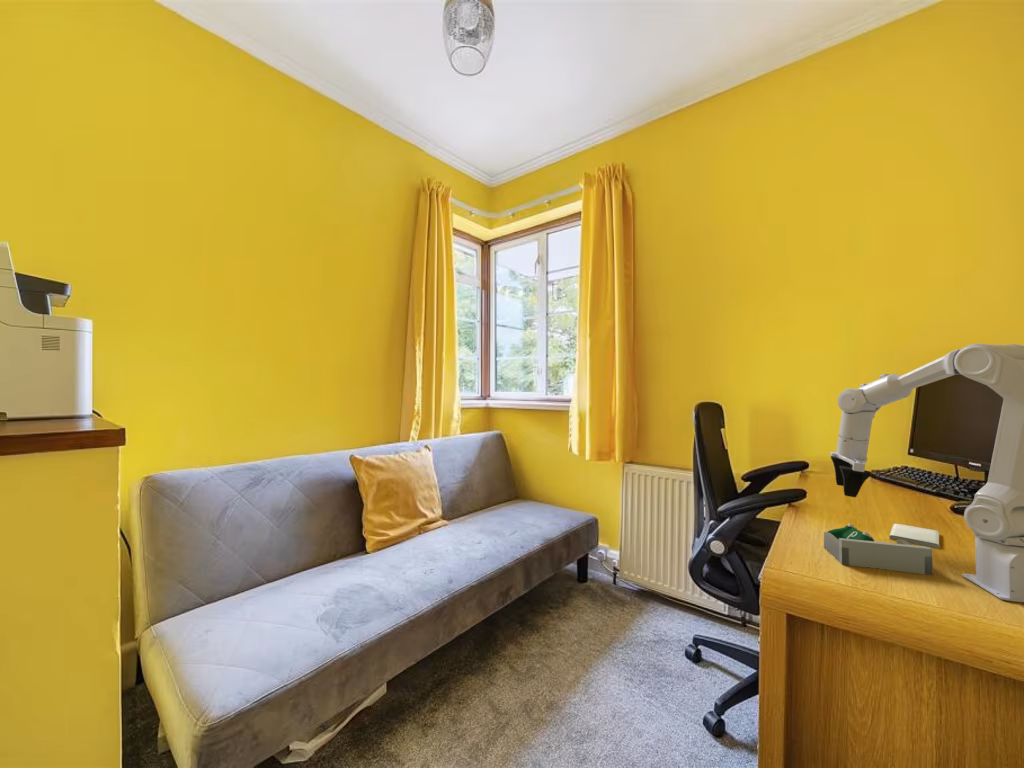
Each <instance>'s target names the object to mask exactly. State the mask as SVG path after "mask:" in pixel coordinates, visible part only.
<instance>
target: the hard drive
mask: <svg viewBox="0 0 1024 768" xmlns="http://www.w3.org/2000/svg"><path fill="white" fill-rule="evenodd" d="M888 537H889V538H888V539H889V540H891V539H892V541H897V539H900V540H905V541H907V542H909V543H910V544H912V545H916V546H925V547H929V548H932V547H933V548H932V549H937V548H938V550H939V549H940V531H938V530H936V529H930V528H924V527H918V526H912V525H907V524H900V523H893V524H892V527H891V529H890V532H889V536H888Z"/></svg>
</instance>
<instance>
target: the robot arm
mask: <svg viewBox="0 0 1024 768" xmlns="http://www.w3.org/2000/svg"><path fill="white" fill-rule="evenodd" d="M956 375H957V376H958V375H960V376H963V377H965V378H968V379H970V380H973V381H975V382H976V383H980V384H982V385H985V386H987V387H988V388H990V389H991V390H993V391H994V392H995V393H996V394H998V395H999V396H1000V397H1001V398H1002V400H1003V401H1002V406H1001V411H1000V415H999V416H1000V417H999V422H998V425H997V429H996V436H995V440H994V448H993V452H992V456H991V463H990V465H989V466H990V467H989V470H988V471H989V472H988V477H987V482H986V484H984V485H983V486H982V487H981V488H980V489H978V490H977V492H975V494H974V498H973V500H972V502H971V503H970V504H969V505H968V506H966V508H965V509H964V513H963V519H964V521H965V524H966V525H967V527H968V528H969V529H970V531H972V532H973V536H974V540H975V541H974V545H975V547H974V548H975V550H974V551H975V553H974V554H975V555H974V556H975V574H971V573H962V577H963V578H965V579H967V580H969V581H970V582H972V583H974V585H977V586H978V587H980V588H982V589H983V590H985V591H987V592H988V593H990V594H992V595H993V596H995V597H996V598H998V599H1000V600H1002V601H1008V602H1017V603H1024V345H1021V344H1012V343H1011V344H985V343H972V344H968V345H966V346H964V347H962V348H960V349H959V348H958V349H955V350H951V351H949V352H948V353H947V354H945V355H942V356H941V357H938V358H937V359H934V360H933V361H930V362H928V363H925V364H923V365H921V366H919V367H918V368H916V369H915V368H914V369H913V370H911V371H909V372H907V373H905V374H902V375H900V374H897V373H891V374H890V373H883V374H881V375H879V376H878V377H879V378H878V379H876V380H874V381H871V382H868V383H862V384H860V385H859V387H858V388H857V389H855V388H845V389H844V390H842V391H841V392H840V393H839V394H838V396H837V406H838V407H839V409H840V410H841V418H840V423H839V424H840V425H839V430H838V431H839V432H838V438H837V439H838V440H837V444H836V451H830V453H829V455H830V460H831V461H832V463H833V464H832V465H833V467H834V473H835V474H834V475H835V482H836V485H837V486H841V487H843V494H844V496H845V497H849V498H850V497H852V498H856V497H857V496H858V495H859V492H860V490H861V488H862V486H863V485H864V483H865V482H866V481H867V480H868V478H870V477H871V476H872V472H871V471H870V470H866V469H865V468H866V463H867V462H868V451H869V444H870V438H871V437H870V436H871V431H872V430H871V429H872V424H873V420H874V419H875V416H876V415H875V414H876V413H877V412H878V411H880V409H881V408H882V407H884V406H887V405H889V404H892V403H895V402H897V401H901V400H903V399H906V398H909V397H910V396H911V395H912V391H913V390H914V389H916V388H919V387H922V386H926V385H929V384H931V383H934V382H937V381H941V380H944V379H947V378H949V377H953V376H956Z"/></svg>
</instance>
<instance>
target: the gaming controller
mask: <svg viewBox="0 0 1024 768" xmlns="http://www.w3.org/2000/svg"><path fill="white" fill-rule="evenodd" d="M827 533H831V534H832V535H833V536H835V537H836V538H837V539H838V540H839V538H844V539H854V540H864V541H874V542H875V539H874V537H873V536H872V535H871V534H870V533H869V532H867V531H866V530H864V531H861V530H859V529H857V528H856V526H854V525H853V524H852V523H850V522H848V524H846V526H844V527H840V528H834V529H830V530H828V531H827Z"/></svg>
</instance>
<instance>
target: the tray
mask: <svg viewBox="0 0 1024 768" xmlns="http://www.w3.org/2000/svg"><path fill="white" fill-rule="evenodd" d="M827 532H828V531H827ZM827 532H823V548H824V549H825V550H826V549H827V550H828V551H829V552H830V553H831V554H832V555H833V556H834V557H835V558H834V557H833V556H832V555H831V554H830V553H829V552H828V551H827V550H826V551H827V552H828V553H829V554H830V555H831V556H832V557H833V558H834V559H836V561H837V562H839V563H840V565H842V564H843V565H844V566H850V567H859V568H867V567H870V568H869V569H876V568H880V569H879V570H884V569H887V570H886V571H893V570H895V571H896V572H901V573H902V572H903V573H910V574H911V573H912V574H920V575H927V576H928V575H930V576H933V574H934V571H933V570H934V567H933V564H934V563H933V562H934V561H933V558H934V557H933V548H932V547H927V546H922V545H916V544H912V543H909V542H907V541H905V540H900V539H897V540H896V543H895V542H883V541H875V540H874V541H864V540H854V539H844V538H839V539H837V538H836V537H835V536H833V535H832V534H831V533H827ZM843 565H842V566H843Z"/></svg>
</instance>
